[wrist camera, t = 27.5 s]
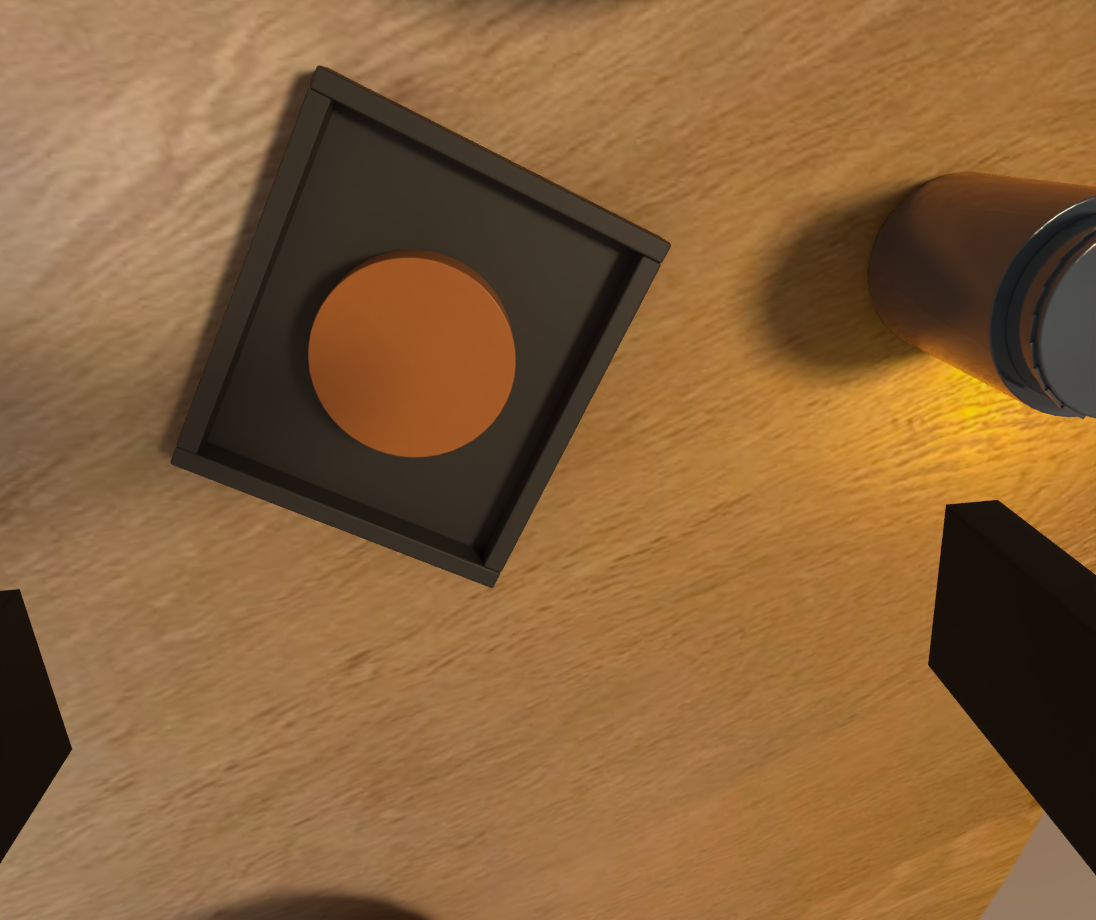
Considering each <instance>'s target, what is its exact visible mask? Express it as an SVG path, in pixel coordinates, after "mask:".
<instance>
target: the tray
mask: <svg viewBox="0 0 1096 920" xmlns="http://www.w3.org/2000/svg"><path fill="white" fill-rule="evenodd" d="M310 88H311V89H308V91H307V94H306V97H305V100H304V102H303V105H302V108H301V110H300V113H299V116H298V118H297V121H296V124H295V127H294V129H293V132H292V135H291V137H290V140H289V143H288V145H287V148H286V151H285V154H284V156H283V159H282V162H281V164H280V167H279V170H278V172H277V175H276V178H275V180H274V183H273V186H272V189H271V191H270V194H269V197H268V199H267V202H266V205H265V207H264V210H263V213H262V216H261V218H260V221H259V224H258V226H257V229H256V232H255V234H254V237H253V240H252V243H251V245H250V248H249V251H248V253H247V256H246V259H245V261H244V264H243V267H242V270H241V272H240V275H239V278H238V280H237V283H236V286H235V288H234V291H233V294H232V296H231V299H230V302H229V305H228V307H227V310H226V313H225V315H224V318H223V321H222V323H221V326H220V329H219V332H218V334H217V337H216V340H215V342H214V345H213V348H212V350H211V353H210V356H209V359H208V361H207V364H206V367H205V369H204V372H203V375H202V377H201V380H200V383H199V385H198V388H197V391H196V394H195V396H194V399H193V402H192V404H191V407H190V410H189V412H188V415H187V418H186V421H185V423H184V426H183V429H182V431H181V434H180V437H179V439H178V442H177V447H176V448H175V451H174V453H173V456H172V459H171V461H170V462H171V464H172V465H174V466H177V467H180V468H182V469H185V470H187V471H190V472H193V473H195V474H198V475H200V476H203V477H205V478H208V479H211V480H213V481H216V482H218V483H221V484H224V485H226V486H229V487H231V488H234V489H237V490H239V491H242V492H244V493H247V494H249V495H252V496H255V497H257V498H260V499H262V500H265V501H268V502H270V503H273V504H275V505H278V506H281V507H283V508H286V509H288V510H291V511H294V512H296V513H299V514H301V515H304V516H306V517H309V518H312V519H314V520H317V521H319V522H322V523H325V524H327V525H330V526H332V527H335V528H338V529H340V530H343V531H345V532H348V533H351V534H353V535H356V536H358V537H361V538H363V539H366V540H369V541H371V542H374V543H376V544H379V545H382V546H384V547H387V548H389V549H392V550H395V551H397V552H400V553H402V554H405V555H408V556H410V557H413V558H415V559H418V560H420V561H423V562H426V563H428V564H431V565H433V566H436V567H439V568H441V569H444V570H446V571H449V572H452V573H454V574H457V575H459V576H462V577H464V578H467V579H470V580H472V581H475V582H477V583H480V584H483V585H485V586H488V587H490V588H493V587H494V585H495V583H496V581H497V579H498V577H499V575H500V572H501V571H502V570H503V568H504V566H505V564H506V562H507V560H508V558H509V556H510V554H511V552H512V551H513V549H514V547H515V545H516V543H517V541H518V539H519V537H520V535H521V533H522V531H523V529H524V527H525V526H526V524H527V522H528V520H529V518H530V516H531V514H532V512H533V510H534V508H535V506H536V504H537V502H538V501H539V499H540V497H541V495H542V493H543V491H544V489H545V487H546V485H547V483H548V481H549V479H550V477H551V476H552V474H553V472H554V470H555V468H556V466H557V464H558V462H559V460H560V458H561V456H562V454H563V452H564V451H565V449H566V447H567V445H568V443H569V441H570V439H571V437H572V435H573V433H574V431H575V429H576V427H577V426H578V424H579V422H580V420H581V418H582V416H583V414H584V412H585V410H586V408H587V406H588V404H589V402H590V401H591V399H592V397H593V395H594V393H595V391H596V389H597V387H598V385H599V383H600V381H601V379H602V377H603V376H604V374H605V372H606V370H607V368H608V366H609V364H610V362H611V360H612V358H613V356H614V354H615V352H616V351H617V349H618V347H619V345H620V343H621V341H622V339H623V337H624V335H625V333H626V331H627V329H628V327H629V326H630V324H631V322H632V320H633V318H634V316H635V314H636V312H637V310H638V308H639V306H640V304H641V302H642V301H643V299H644V297H645V295H646V293H647V291H648V289H649V287H650V285H651V283H652V281H653V279H654V277H655V276H656V274H657V272H658V270H659V268H660V265H661V264H660V263H662V262H663V260H664V258H665V256H666V254H667V252H668V251H669V249H670V247H671V244H670V243H669V242H667V241H666V240H664V239H663V238H661V237H660V236H658V235H656V234H654V233H652V232H650V231H648V230H646V229H644V228H642V227H640V226H638V225H636V224H634V223H632V222H630V221H628V220H626V219H624V218H622V217H620V216H618V215H616V214H614V213H613V212H611V211H609V210H607V209H605V208H603V207H601V206H599V205H597V204H595V203H593V202H591V201H589V200H587V199H585V198H583V197H581V196H579V195H577V194H575V193H573V192H571V191H569V190H567V189H565V188H563V187H561V186H559V185H557V184H555V183H553V182H551V181H549V180H548V179H546V178H544V177H542V176H540V175H538V174H536V173H534V172H532V171H530V170H528V169H526V168H524V167H522V166H520V165H518V164H516V163H514V162H512V161H510V160H508V159H506V158H504V157H502V156H500V155H498V154H496V153H494V152H492V151H490V150H488V149H486V148H485V147H483V146H481V145H479V144H477V143H475V142H473V141H471V140H469V139H467V138H465V137H463V136H461V135H459V134H457V133H455V132H453V131H451V130H449V129H447V128H445V127H443V126H441V125H439V124H437V123H435V122H433V121H431V120H429V119H427V118H425V117H423V116H422V115H420V114H418V113H416V112H414V111H412V110H410V109H408V108H406V107H404V106H402V105H400V104H398V103H396V102H394V101H392V100H390V99H388V98H386V97H384V96H382V95H380V94H378V93H376V92H374V91H372V90H370V89H368V88H366V87H364V86H362V85H360V84H358V83H357V82H355V81H353V80H351V79H349V78H347V77H345V76H343V75H341V74H339V73H337V72H335V71H333V70H331V69H329V68H327V67H323V66H317V68H316V70H315V73H314V76H313V79H312V81H311V84H310ZM409 249H418V250H427V251H433V252H437V253H441V254H444V255H447V256H449V257H452V258H454V259H456V260H458V261H460V262H462V263H464V264H465V265H467V266H469V267H470V268H471V269H473V270H474V271H475V272H477V273H478V274H479V275H480V276H481V277H482V278H483V279H484V280H485V281H487V282H488V284H489V285H490V286H491V287H492V289H493V290H494V291H495V292H496V294H497V295H498V297H499V299H500V300H501V302H502V304H503V306H504V308H505V310H506V313H507V315H508V318H509V322H510V325H511V329H512V334H513V339H514V346H515V353H516V367H515V376H514V381H513V385H512V389H511V392H510V394H509V397H508V399H507V402H506V404H505V405H504V407H503V409H502V411H501V412H500V414H499V415H498V416H497V418H496V419H495V420H494V422H493V423H492V424H491V425H490V426H489V427H488V428H487V429H486V430H485V431H484V432H483V433H482V434H480V435H479V436H478V437H476V438H475V439H474V440H472V441H471V442H469V443H467V444H466V445H464V446H462V447H460V448H457V449H455V450H453V451H450V452H447V453H443V454H440V455H434V456H428V457H403V456H396V455H391V454H387V453H384V452H381V451H378V450H375V449H373V448H370V447H368V446H366V445H364V444H362V443H361V442H359V441H357V440H356V439H354V438H353V437H351V436H350V435H349V434H348V433H346V432H345V431H344V430H343V429H342V428H340V427H339V425H338V424H337V423H336V422H335V421H334V420H333V419H332V418H331V417H330V415H329V414H328V412H327V411H326V410H325V408H324V407H323V405H322V403H321V401H320V400H319V398H318V396H317V393H316V391H315V388H314V386H313V383H312V379H311V375H310V371H309V361H308V346H309V339H310V333H311V329H312V326H313V323H314V320H315V317H316V315H317V313H318V311H319V309H320V307H321V305H322V304H323V302H324V301H325V299H326V298H327V296H328V295H329V294H330V292H331V291H332V290H333V289H334V287H335V286H336V285H337V284H338V283H339V281H340V280H341V279H342V278H343V277H344V276H345V275H346V274H347V273H349V272H350V271H351V270H352V269H353V268H355V267H356V266H358V265H359V264H361V263H363V262H364V261H366V260H368V259H370V258H373V257H375V256H377V255H380V254H384V253H387V252H391V251H397V250H409Z"/></svg>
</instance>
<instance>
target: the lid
mask: <svg viewBox="0 0 1096 920" xmlns="http://www.w3.org/2000/svg"><path fill="white" fill-rule="evenodd" d="M308 361H309V371H310V375H311V379H312V383H313V386H314V388H315V391H316V393H317V396H318V398H319V400H320V401H321V403H322V405H323V407H324V408H325V410H326V411H327V412H328V414H329V415H330V417H331V418H332V419H333V420H334V421H335V422H336V423H337V424H338V425H339V427H340V428H342V429H343V430H344V431H345V432H346V433H348V434H349V435H350V436H351V437H353V438H354V439H356V440H357V441H359V442H361V443H362V444H364V445H366V446H368V447H370V448H373V449H375V450H378V451H381V452H384V453H387V454H391V455H396V456H403V457H428V456H434V455H440V454H443V453H447V452H450V451H453V450H455V449H457V448H460V447H462V446H464V445H466V444H467V443H469V442H471V441H472V440H474V439H475V438H476V437H478V436H479V435H480V434H482V433H483V432H484V431H485V430H486V429H487V428H488V427H489V426H490V425H491V424H492V423H493V422H494V420H495V419H496V418H497V416H498V415H499V414H500V412H501V411H502V409H503V407H504V405H505V404H506V402H507V399H508V397H509V394H510V392H511V389H512V385H513V381H514V376H515V367H516V353H515V346H514V339H513V334H512V329H511V325H510V322H509V318H508V315H507V313H506V310H505V308H504V306H503V304H502V302H501V300H500V299H499V297H498V295H497V294H496V292H495V291H494V290H493V289H492V287H491V286H490V285H489V284H488V282H487V281H485V280H484V279H483V278H482V277H481V276H480V275H479V274H478V273H477V272H475V271H474V270H473V269H471V268H470V267H469V266H467V265H465V264H464V263H462V262H460V261H458V260H456V259H454V258H452V257H449V256H447V255H444V254H441V253H437V252H433V251H427V250H418V249H409V250H397V251H391V252H387V253H384V254H380V255H377V256H375V257H373V258H370V259H368V260H366V261H364V262H363V263H361V264H359V265H358V266H356V267H355V268H353V269H352V270H351V271H350V272H349V273H347V274H346V275H345V276H344V277H343V278H342V279H341V280H340V281H339V283H338V284H337V285H336V286H335V287H334V289H333V290H332V291H331V292H330V294H329V295H328V296H327V298H326V299H325V301H324V302H323V304H322V305H321V307H320V309H319V311H318V313H317V315H316V317H315V320H314V323H313V326H312V329H311V333H310V339H309V346H308Z"/></svg>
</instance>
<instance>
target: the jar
mask: <svg viewBox="0 0 1096 920" xmlns="http://www.w3.org/2000/svg"><path fill="white" fill-rule="evenodd" d="M869 288H870V294H871V298H872V302H873V305H874V307H875V309H876V312H877V314H878V315H879V317H880V319H881V320H882V322H883V323H884V324H885V325H886V326H887V328H888V329H889V330H890V331H891V332H893V333H894V334H895V335H896V336H897V337H899V338H901V339H902V340H904V341H906V342H907V343H909V344H911V345H913V346H915V347H917V348H919V349H921V350H923V351H925V352H926V353H928V354H930V355H932V356H934V357H936V358H938V359H940V360H942V361H943V362H945V363H947V364H949V365H951V366H953V367H955V368H957V369H959V370H961V371H962V372H964V373H966V374H968V375H970V376H972V377H974V378H976V379H978V380H980V381H981V382H983V383H985V384H987V385H989V386H991V387H993V388H995V389H997V390H999V391H1000V392H1002V393H1004V394H1006V395H1008V396H1010V397H1012V398H1014V399H1016V400H1018V401H1019V402H1021V403H1023V404H1025V405H1027V406H1029V407H1031V408H1033V409H1035V410H1038V411H1040V412H1043V413H1046V414H1050V415H1054V416H1062V417H1080V418H1082V419H1084V418H1085V416H1088V417H1092V418H1096V187H1094V186H1086V185H1077V184H1069V183H1060V182H1052V181H1044V180H1035V179H1027V178H1018V177H1010V176H1002V175H993V174H985V173H977V172H962V173H955V174H950V175H946V176H943V177H940V178H937V179H935V180H933V181H930V182H928V183H926V184H925V185H923V186H921V187H920V188H918V189H917V190H915V191H914V192H913V193H911V194H910V195H909V196H907V197H906V198H905V199H904V200H903V201H902V202H901V203H900V204H899V205H898V206H897V207H896V208H895V210H894V211H893V212H892V213H891V214H890V216H889V217H888V219H887V220H886V222H885V223H884V225H883V226H882V228H881V230H880V232H879V234H878V236H877V239H876V241H875V244H874V247H873V250H872V254H871V258H870V265H869Z"/></svg>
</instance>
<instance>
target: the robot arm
mask: <svg viewBox="0 0 1096 920" xmlns="http://www.w3.org/2000/svg"><path fill="white" fill-rule="evenodd" d="M928 665H929V667H930V668H931V669H932V670H933V672H934V673H935V674H936V675H937V677H938V678H939V679H940V680H941V682H942V683H943V684H944V685H945V687H946V688H947V689H948V690H949V692H950V693H951V694H952V695H953V697H954V698H955V699H956V700H957V702H958V703H959V704H960V705H961V707H962V708H963V709H964V710H965V712H966V713H967V714H968V715H969V717H970V718H971V719H972V720H973V722H974V723H975V724H976V725H977V727H978V728H979V729H980V731H981V732H982V733H983V734H984V736H985V737H986V738H987V739H988V741H989V742H990V743H991V744H992V746H993V747H994V748H995V749H996V751H997V752H998V753H999V754H1000V756H1001V757H1002V758H1003V759H1004V761H1005V762H1006V763H1007V764H1008V766H1009V767H1010V768H1011V769H1012V771H1013V772H1014V773H1015V774H1016V776H1017V777H1018V778H1019V779H1020V781H1021V782H1022V783H1023V784H1024V786H1025V787H1026V788H1027V789H1028V791H1029V792H1030V793H1031V794H1032V796H1033V797H1034V798H1035V799H1036V801H1037V802H1038V803H1039V805H1040V806H1041V807H1042V808H1043V810H1044V811H1045V812H1046V813H1047V814H1048V816H1049V817H1050V818H1051V820H1052V821H1053V822H1054V823H1055V825H1056V826H1057V827H1058V828H1059V830H1061V832H1062V833H1063V835H1064V836H1065V837H1066V838H1067V840H1068V841H1069V842H1070V843H1071V845H1072V846H1073V847H1074V848H1075V850H1076V851H1077V852H1078V853H1079V855H1080V856H1081V857H1082V858H1083V860H1084V861H1085V862H1086V863H1087V865H1088V866H1089V867H1090V868H1091V870H1092V871H1093V872H1094V873H1095V875H1096V575H1095V574H1094V573H1092V572H1091V571H1090V570H1088V569H1087V568H1086V567H1084V566H1083V565H1082V564H1081V563H1079V562H1078V561H1077V560H1075V559H1074V558H1073V557H1071V556H1070V555H1069V554H1067V553H1066V552H1065V551H1064V550H1062V549H1061V548H1060V547H1058V546H1057V545H1056V544H1054V543H1053V542H1052V541H1051V540H1049V539H1048V538H1047V537H1045V536H1044V535H1043V534H1041V533H1040V532H1039V531H1038V530H1036V529H1035V528H1034V527H1032V526H1031V525H1030V524H1028V523H1027V522H1026V521H1024V520H1023V519H1022V518H1021V517H1019V516H1018V515H1017V514H1015V513H1014V512H1013V511H1011V510H1010V509H1009V508H1008V507H1006V506H1005V505H1004V504H1002V503H1001V502H1000V501H998V500H992V501H981V502H970V503H959V504H948V505H946V510H945V519H944V528H943V537H942V546H941V555H940V564H939V573H938V582H937V591H936V600H935V608H934V617H933V626H932V635H931V644H930V653H929V662H928ZM71 750H72V747H71V744H70V741H69V738H68V735H67V732H66V729H65V726H64V723H63V720H62V717H61V714H60V711H59V708H58V705H57V702H56V699H55V696H54V693H53V690H52V686H51V683H50V680H49V677H48V674H47V671H46V668H45V665H44V662H43V659H42V656H41V653H40V650H39V647H38V644H37V641H36V638H35V635H34V632H33V629H32V626H31V623H30V620H29V617H28V614H27V610H26V607H25V604H24V601H23V598H22V595H21V592H20V589H16V590H5V591H0V863H1V861H2V860H3V858H4V857H5V855H6V853H7V852H8V850H9V849H10V847H11V846H12V844H13V842H14V841H15V839H16V838H17V836H18V834H19V833H20V831H21V830H22V828H23V826H24V825H25V823H26V822H27V820H28V819H29V817H30V815H31V814H32V812H33V811H34V809H35V807H36V806H37V804H38V803H39V801H40V800H41V798H42V796H43V795H44V793H45V792H46V790H47V788H48V787H49V785H50V784H51V782H52V781H53V779H54V777H55V776H56V774H57V773H58V771H59V769H60V768H61V766H62V765H63V763H64V761H65V760H66V758H67V757H68V755H69V754H70V752H71Z"/></svg>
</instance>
